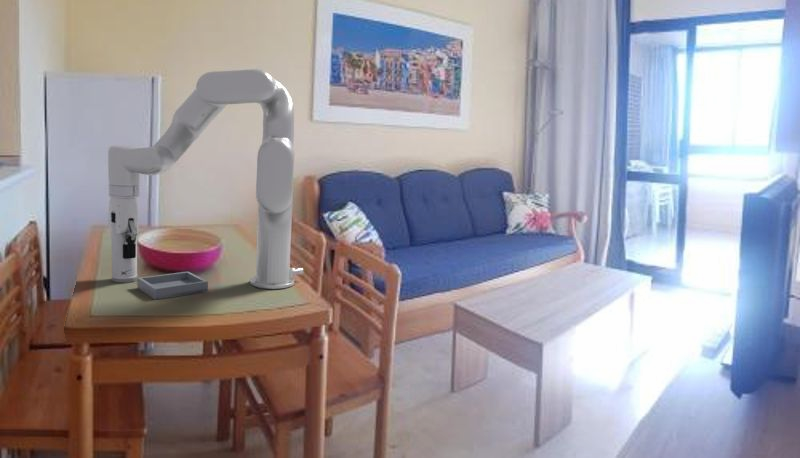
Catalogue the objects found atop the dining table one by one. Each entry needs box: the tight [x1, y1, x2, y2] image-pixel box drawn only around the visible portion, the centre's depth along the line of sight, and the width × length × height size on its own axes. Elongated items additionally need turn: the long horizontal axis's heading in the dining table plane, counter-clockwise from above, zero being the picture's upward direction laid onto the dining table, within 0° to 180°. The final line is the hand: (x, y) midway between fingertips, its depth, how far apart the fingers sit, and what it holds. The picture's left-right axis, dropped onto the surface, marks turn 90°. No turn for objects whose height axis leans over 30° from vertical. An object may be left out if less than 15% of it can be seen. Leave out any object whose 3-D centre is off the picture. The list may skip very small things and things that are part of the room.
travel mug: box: [110, 213, 138, 284], centre depth 155 cm, size 6×7×20 cm
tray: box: [136, 271, 209, 300], centre depth 151 cm, size 14×12×3 cm
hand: (124, 254), depth 156 cm, fingers closed on travel mug, 6 cm apart
